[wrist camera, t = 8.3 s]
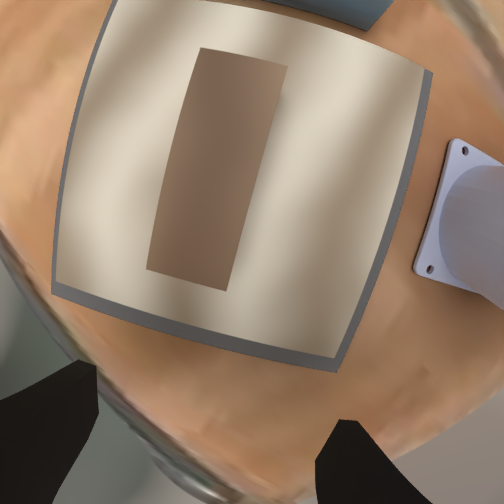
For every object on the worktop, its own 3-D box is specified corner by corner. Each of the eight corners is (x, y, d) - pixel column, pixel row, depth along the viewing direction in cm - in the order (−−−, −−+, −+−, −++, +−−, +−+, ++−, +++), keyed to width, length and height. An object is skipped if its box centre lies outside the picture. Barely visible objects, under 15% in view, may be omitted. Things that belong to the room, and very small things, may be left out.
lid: (416, 71, 13) (466, 46, 9) (330, 348, 18) (350, 405, 13) (126, 3, 13) (87, -38, 8) (64, 275, 17) (14, 309, 12)
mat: (428, 74, 14) (433, 72, 13) (335, 368, 18) (336, 372, 18) (117, 0, 13) (114, -3, 13) (55, 290, 18) (51, 293, 17)
